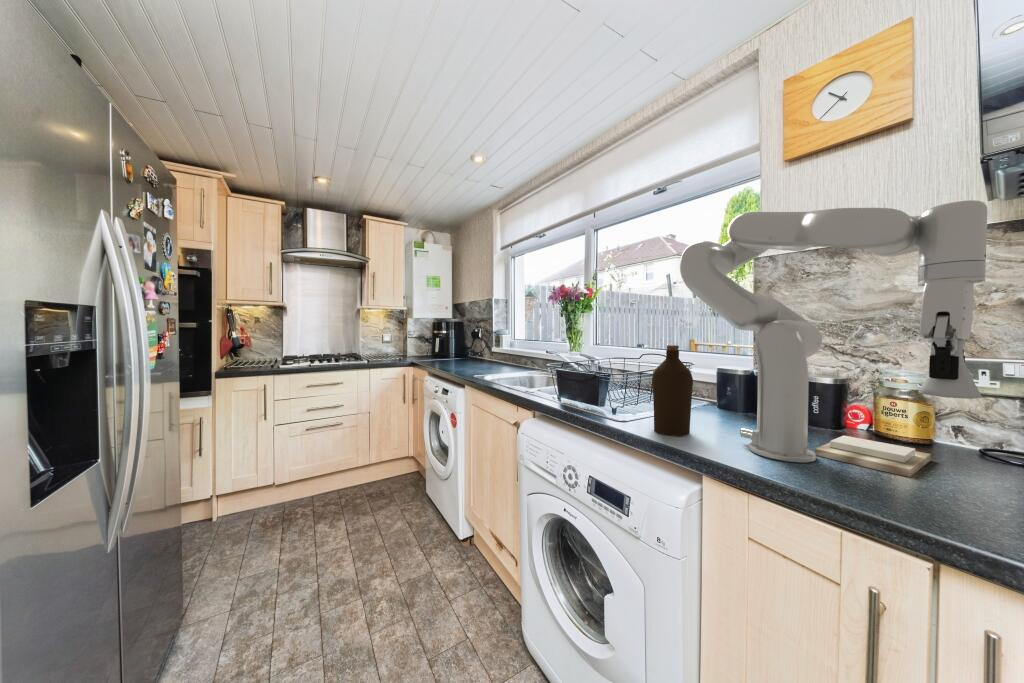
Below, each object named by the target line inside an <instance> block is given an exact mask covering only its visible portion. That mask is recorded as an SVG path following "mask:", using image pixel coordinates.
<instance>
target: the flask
mask: <svg viewBox="0 0 1024 683" xmlns="http://www.w3.org/2000/svg"><path fill="white" fill-rule="evenodd" d="M965 343H966V340H965V339H964V340H958V343H957V354H956V356H959V375H958V379H956V380H949V379H935V378H930V377H929V373H928V374H927V376H926V377H925V379H924V380H923V383H922V384H921V385H920V387H919V389H918V391H917V392H918V393H920V394H922V395H927V396H931V397H932V396H933V397H942V398H951V399H967V400H969V399H983V396H982V395H981V393H980V391H979V388H978V386H977V384H976V383H975V381H974V380H973V379H974V378H972V375H971V373H970V371H969V368H968V367H967V365H966V361H965V362H964V358H963V356H964V355H963V354H962V345H963V344H964V345H965Z"/></svg>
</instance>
